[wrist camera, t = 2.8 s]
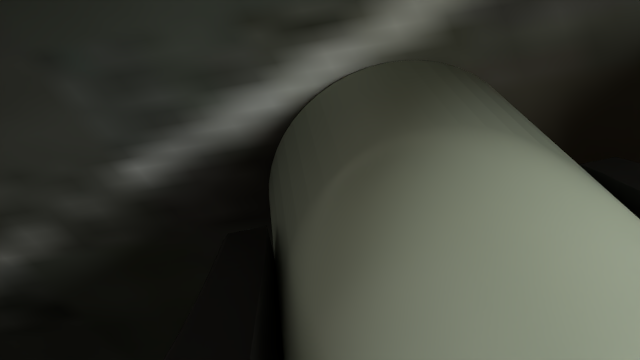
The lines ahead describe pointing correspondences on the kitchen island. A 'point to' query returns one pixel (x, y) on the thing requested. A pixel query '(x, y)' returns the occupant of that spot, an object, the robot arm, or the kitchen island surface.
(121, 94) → the kitchen island surface
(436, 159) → the sage cylinder
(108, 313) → the kitchen island surface
